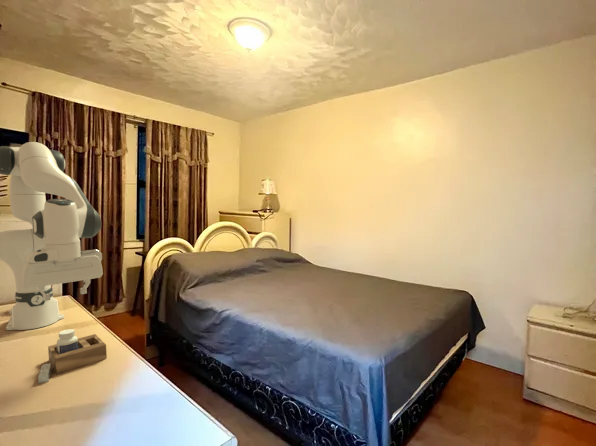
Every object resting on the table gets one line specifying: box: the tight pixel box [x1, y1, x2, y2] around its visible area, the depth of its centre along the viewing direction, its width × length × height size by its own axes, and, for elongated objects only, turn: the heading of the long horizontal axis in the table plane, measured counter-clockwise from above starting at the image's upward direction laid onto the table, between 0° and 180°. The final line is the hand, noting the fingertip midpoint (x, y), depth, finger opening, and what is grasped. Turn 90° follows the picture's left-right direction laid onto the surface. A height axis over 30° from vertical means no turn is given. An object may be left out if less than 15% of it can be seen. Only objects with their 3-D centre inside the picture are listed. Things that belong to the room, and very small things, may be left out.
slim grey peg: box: [37, 362, 53, 384], centre depth 94 cm, size 8×2×2 cm, turn 32°
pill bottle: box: [56, 328, 78, 355], centre depth 102 cm, size 5×5×10 cm
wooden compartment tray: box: [47, 333, 108, 375], centre depth 104 cm, size 12×13×4 cm
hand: (65, 296), depth 101 cm, fingers open, 8 cm apart
